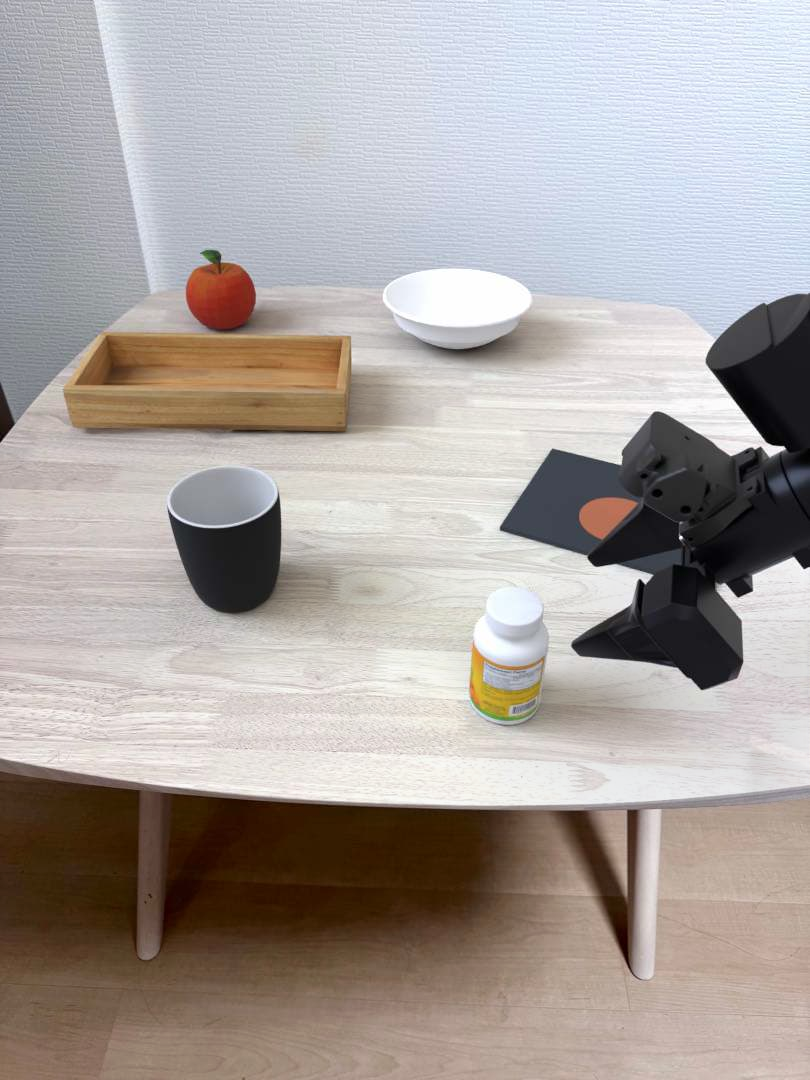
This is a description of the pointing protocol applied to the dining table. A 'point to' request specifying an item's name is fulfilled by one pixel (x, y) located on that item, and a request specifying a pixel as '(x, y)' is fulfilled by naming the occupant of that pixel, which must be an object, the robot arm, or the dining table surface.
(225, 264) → the fruit
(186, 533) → the mug
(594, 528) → the placemat
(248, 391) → the tray
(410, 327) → the bowl
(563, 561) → the dining table surface
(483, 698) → the supplement bottle
